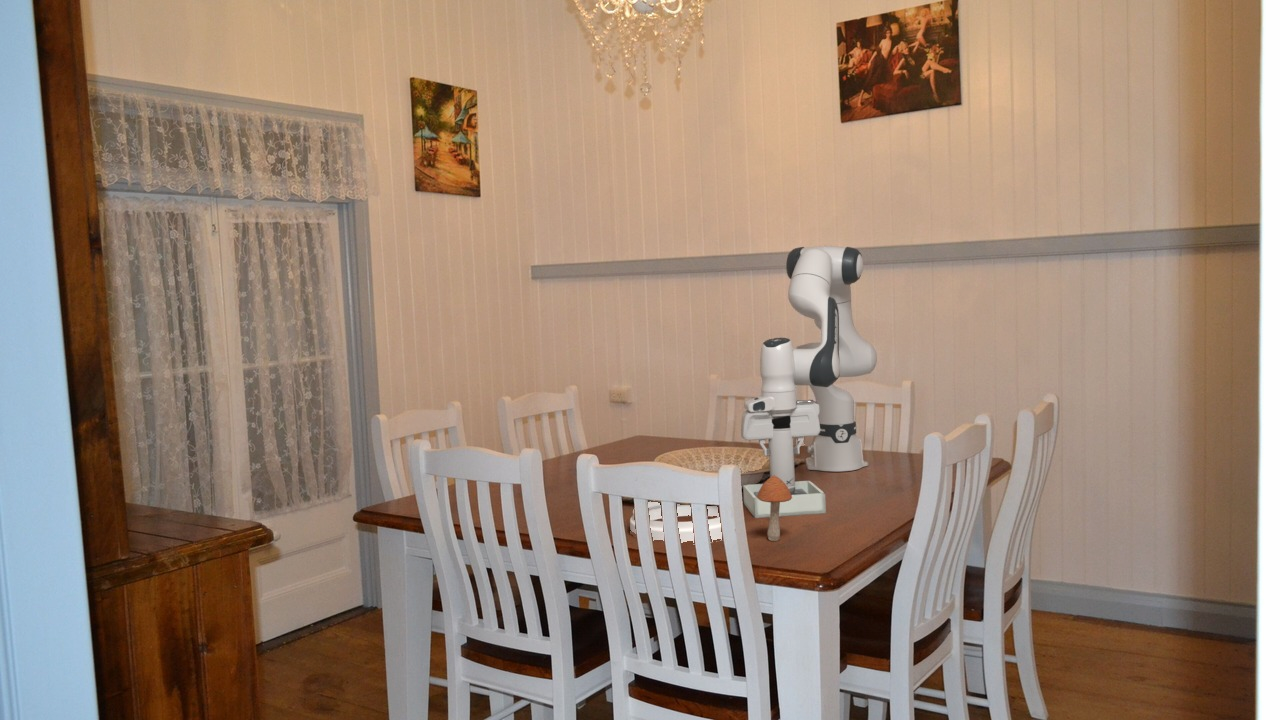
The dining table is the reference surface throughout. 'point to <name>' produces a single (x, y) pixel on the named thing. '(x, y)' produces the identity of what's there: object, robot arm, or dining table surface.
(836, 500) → the dining table surface
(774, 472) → the travel mug
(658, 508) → the plate
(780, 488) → the mushroom
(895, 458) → the dining table surface
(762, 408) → the robot arm
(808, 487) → the crate
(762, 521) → the dining table surface
